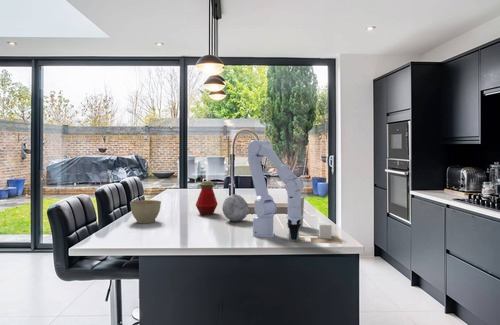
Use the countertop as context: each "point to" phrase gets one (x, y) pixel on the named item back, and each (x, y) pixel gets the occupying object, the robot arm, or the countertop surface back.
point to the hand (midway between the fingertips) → (293, 237)
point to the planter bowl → (145, 210)
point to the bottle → (206, 199)
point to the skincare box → (301, 211)
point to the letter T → (308, 238)
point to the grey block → (325, 230)
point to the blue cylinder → (290, 236)
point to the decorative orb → (235, 208)
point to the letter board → (317, 239)
